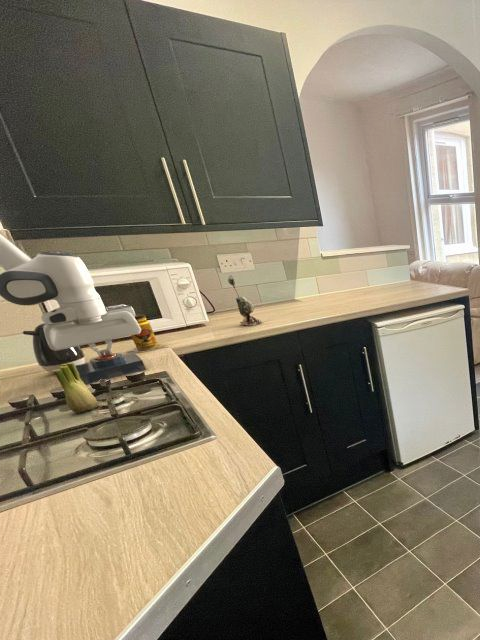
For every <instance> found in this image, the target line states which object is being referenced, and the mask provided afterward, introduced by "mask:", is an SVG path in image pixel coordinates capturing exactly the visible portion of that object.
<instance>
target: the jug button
mask: <svg viewBox="0 0 480 640" xmlns="http://www.w3.org/2000/svg"><path fill="white" fill-rule="evenodd" d="M112 354H113V353H112ZM115 356H116V355H115V354H113V355H109V356H105V357H99V355H98V356H96V360H105V359H110V358H113V357H115Z"/></svg>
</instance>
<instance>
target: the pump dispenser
mask: <svg viewBox="0 0 480 640" xmlns="http://www.w3.org/2000/svg"><path fill="white" fill-rule="evenodd" d="M44 325H45V323H44V322H43V323H39V325H36V326H35V328H34V330H23V331H22V334H23V335H25V336H32V349H33V353H34V357H35V360H36V362H37V364H38V365H39V367H41V368H42V369H43V370H44V371H46V372H48V373H50V374H54V375H55V373H54V370H58V369H60V370H61V368H60V367H61V365H62V364H67V363H74V365H75V366H76V365H81V364H85V353H84V351H83V349H82V348H81V346H77V347H72V348H67V349H62V350H57V351H55V350H52V349H50V347H49V345H48V343H47V341H46V338H45V334H44V329H43V328H44ZM75 368H76V367H75ZM76 370H77V369H76ZM61 371H62V370H61Z"/></svg>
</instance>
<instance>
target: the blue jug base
mask: <svg viewBox="0 0 480 640" xmlns="http://www.w3.org/2000/svg"><path fill="white" fill-rule="evenodd" d="M112 354H115V355H116V356H115V357H113V358H110V359H105V360H96V357H97V356H96V357H95V356H94V357H93V358H91V359H89V362H86V363H85V362H84V364H81V365H76V366H75V367H76V369H77V373H78V375H79V377H80V379H81V380H82V381H83V383H84V384H85V385H86V386H87V385H91V384H94V383H93V382H95V383H98V382H97V381H99V380H100V379H107V380H110V379H114V378H118V377H122V376H127V375H130V374H134V373H139V372H143V371H147V368H146V365H145V363H144V361H143V360H142V359H141V357H140V356H138V354H136V353H135V352H130V353H126V354H123V353H121V352H114V353H113V352H112ZM99 382H100V381H99Z"/></svg>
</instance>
